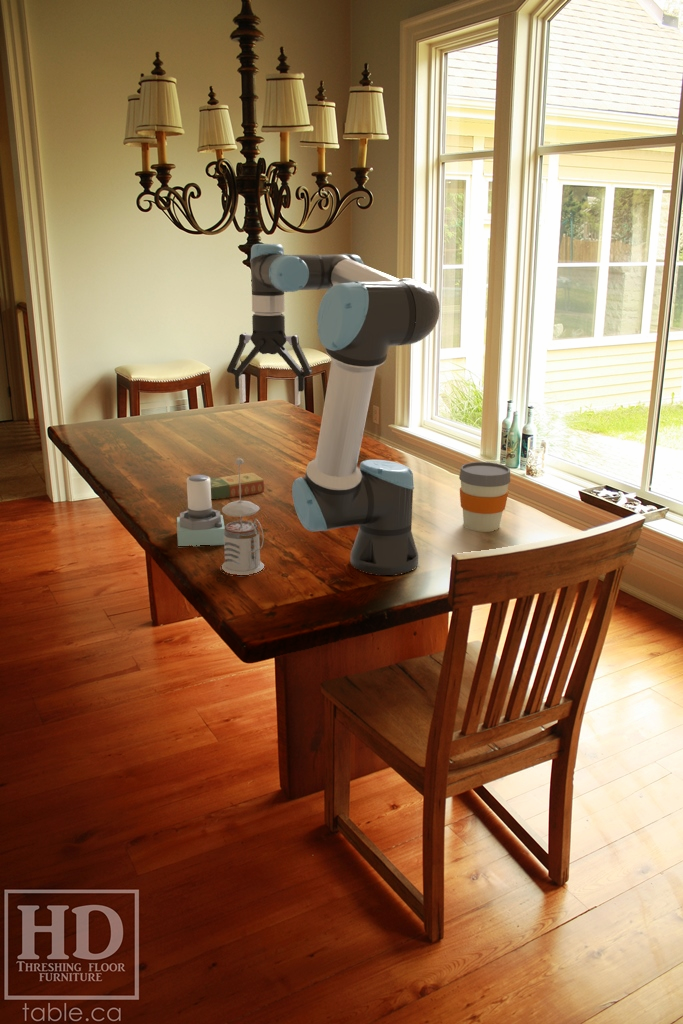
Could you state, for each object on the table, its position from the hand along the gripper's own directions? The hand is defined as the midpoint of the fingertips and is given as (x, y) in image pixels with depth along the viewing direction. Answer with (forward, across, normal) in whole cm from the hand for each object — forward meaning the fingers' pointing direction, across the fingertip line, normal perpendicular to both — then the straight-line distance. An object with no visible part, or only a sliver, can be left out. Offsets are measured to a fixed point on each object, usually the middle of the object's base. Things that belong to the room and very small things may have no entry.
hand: (270, 403), depth 203 cm
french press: (+31, -1, +29) cm, 43 cm away
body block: (+31, +14, +14) cm, 36 cm away
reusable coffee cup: (+31, -52, -8) cm, 61 cm away
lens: (+27, +14, +14) cm, 33 cm away
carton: (+31, +17, -23) cm, 42 cm away
